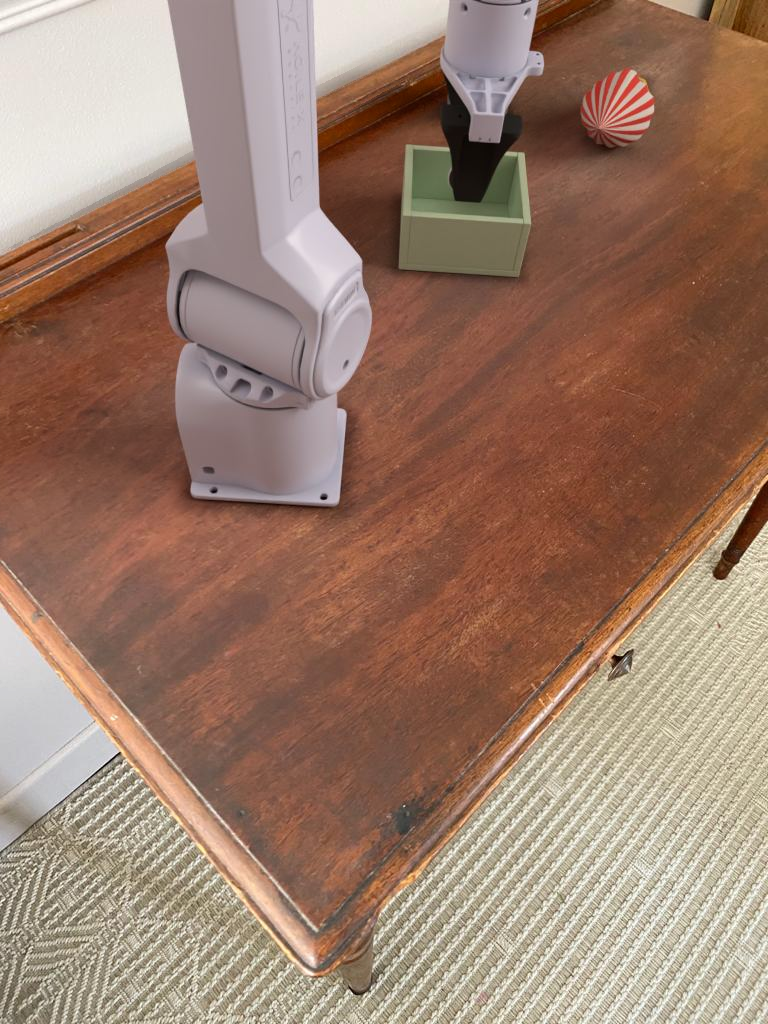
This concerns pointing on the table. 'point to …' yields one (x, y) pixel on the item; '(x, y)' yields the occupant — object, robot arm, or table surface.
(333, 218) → the table surface
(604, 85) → the striped christmas ornament
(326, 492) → the robot arm
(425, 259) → the bin
